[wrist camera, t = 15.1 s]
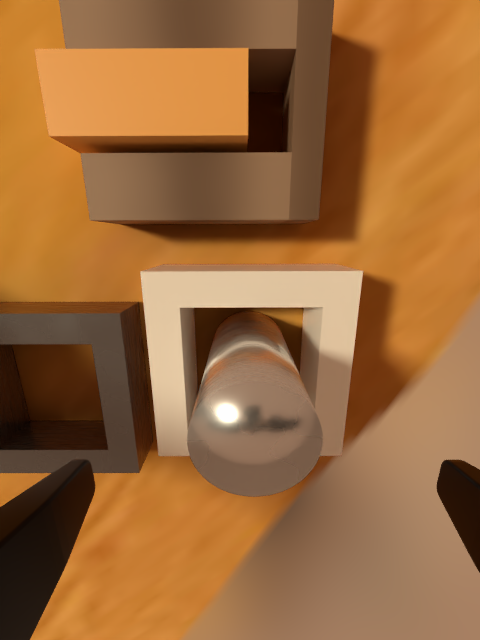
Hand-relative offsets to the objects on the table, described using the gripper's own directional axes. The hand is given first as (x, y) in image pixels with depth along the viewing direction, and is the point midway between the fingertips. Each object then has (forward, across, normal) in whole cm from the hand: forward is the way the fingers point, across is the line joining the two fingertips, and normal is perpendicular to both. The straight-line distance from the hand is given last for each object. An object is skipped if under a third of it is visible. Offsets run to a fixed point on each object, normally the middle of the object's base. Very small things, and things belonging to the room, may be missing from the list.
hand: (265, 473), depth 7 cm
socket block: (+9, +11, +2) cm, 14 cm away
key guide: (+9, +3, -10) cm, 14 cm away
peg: (+9, 0, 0) cm, 9 cm away
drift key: (+9, +4, -10) cm, 14 cm away
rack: (+9, 0, 0) cm, 9 cm away
